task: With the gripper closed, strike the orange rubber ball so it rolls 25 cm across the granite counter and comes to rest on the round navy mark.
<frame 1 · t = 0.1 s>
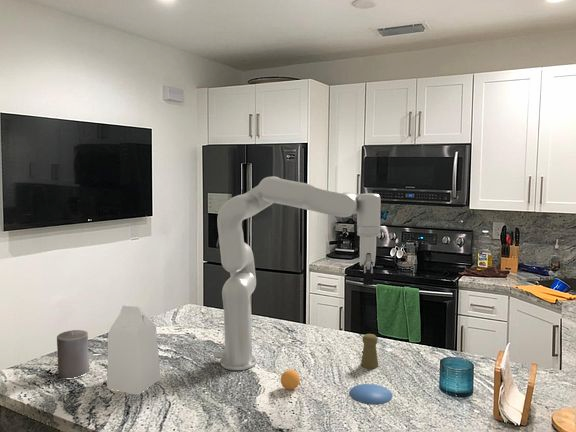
hand: (367, 281, 165), 31 cm above the table, tool pointing down, fingers open, 9 cm apart
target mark: (370, 394, 151), on the table
olive chess pawn: (369, 365, 173), on the table
pillar candle: (74, 374, 167), on the table
ball: (290, 379, 155), on the table
milk: (134, 385, 158), on the table
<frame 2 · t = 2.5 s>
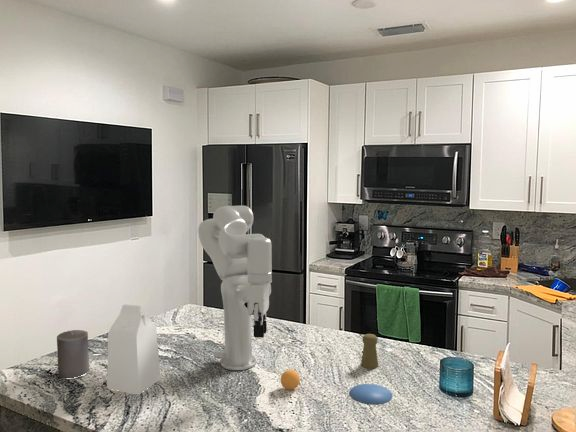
hand: (260, 334, 154), 17 cm above the table, tool pointing down, fingers open, 3 cm apart
nothing on the table moved.
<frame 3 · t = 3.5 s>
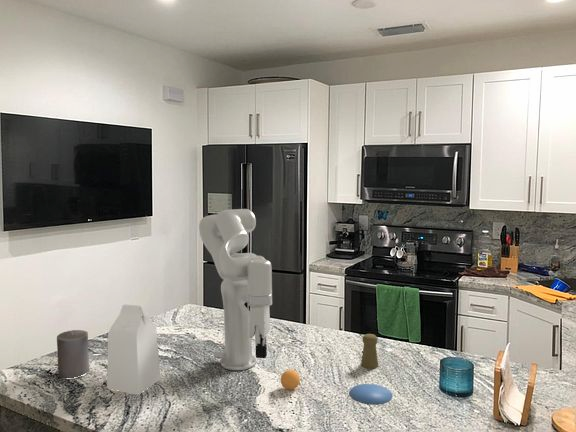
hand: (261, 357, 154), 10 cm above the table, tool pointing down, fingers closed
nothing on the table moved.
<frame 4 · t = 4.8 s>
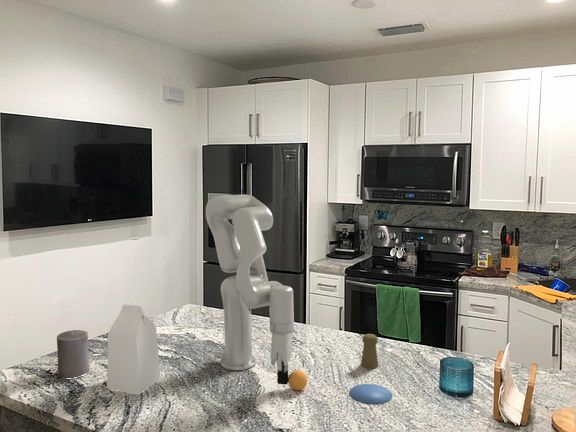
hand: (282, 383, 154), 2 cm above the table, tool pointing down, fingers closed
ball: (297, 380, 154), on the table
everything else where it was.
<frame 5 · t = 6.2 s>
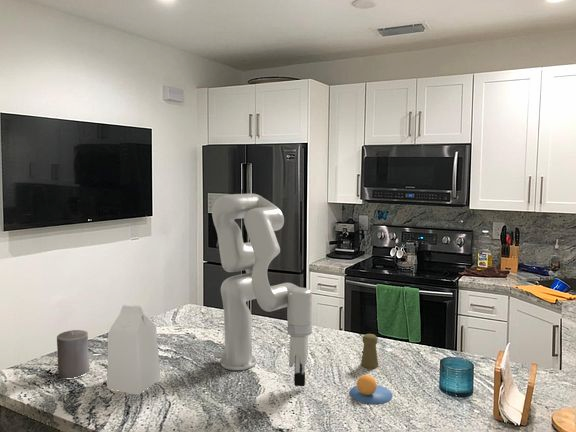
hand: (299, 384, 154), 2 cm above the table, tool pointing down, fingers closed
ball: (366, 385, 151), on the table
everything else where it was.
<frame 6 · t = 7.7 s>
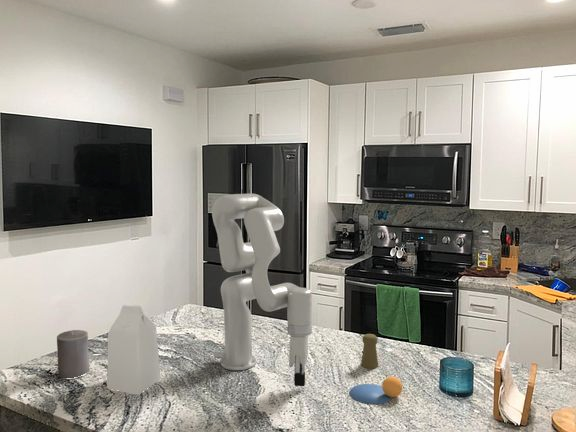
hand: (299, 384, 154), 2 cm above the table, tool pointing down, fingers closed
ball: (392, 386, 149), on the table
everything else where it was.
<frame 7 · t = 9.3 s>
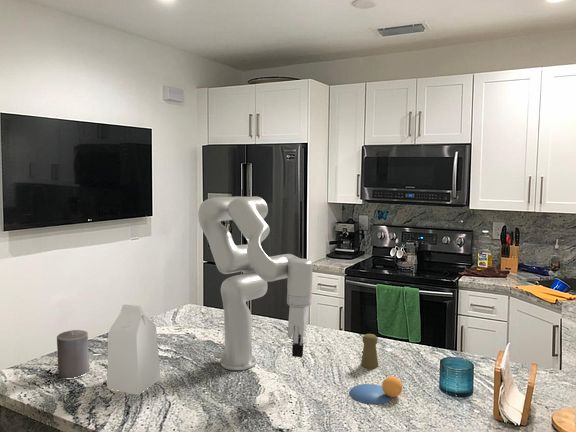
hand: (297, 355, 154), 11 cm above the table, tool pointing down, fingers closed
nothing on the table moved.
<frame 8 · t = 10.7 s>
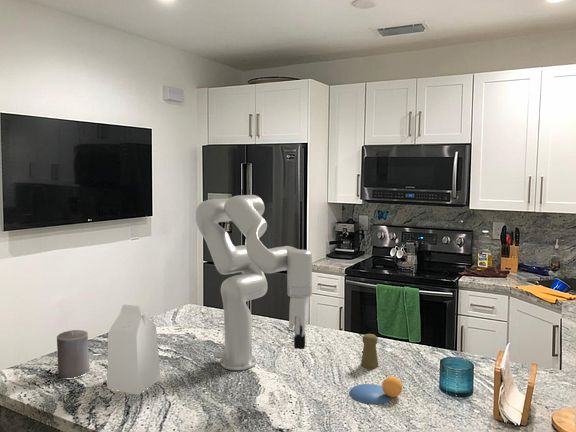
hand: (299, 347, 153), 14 cm above the table, tool pointing down, fingers closed
nothing on the table moved.
at the end: ball 6.4 cm from the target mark (horizontally); ball at rest at the end (0.0 cm/s); ball moved 31.3 cm from its start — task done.
